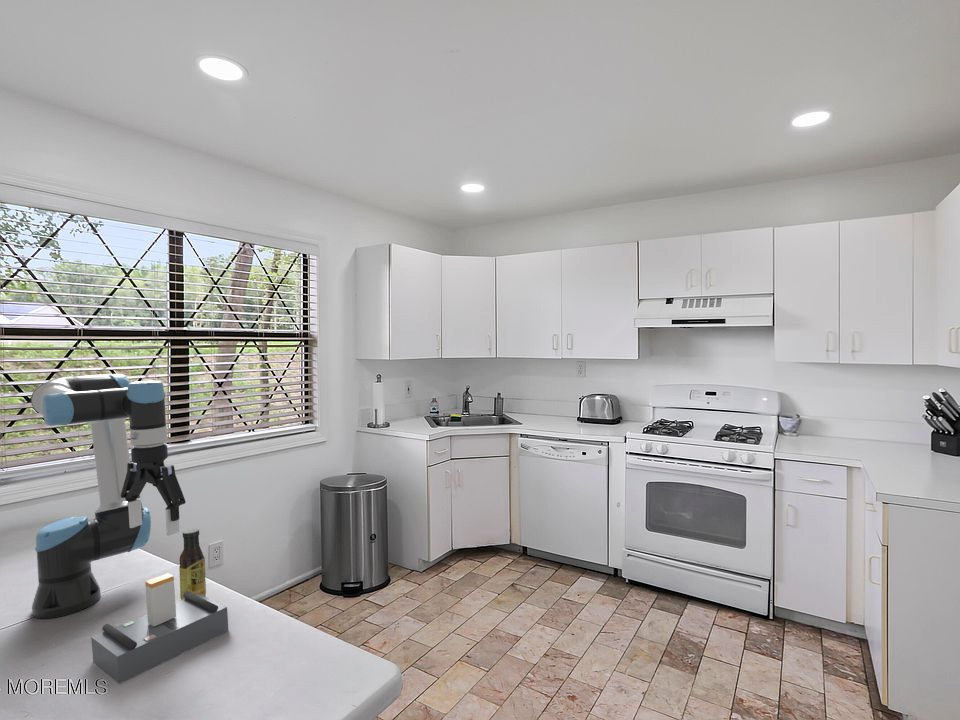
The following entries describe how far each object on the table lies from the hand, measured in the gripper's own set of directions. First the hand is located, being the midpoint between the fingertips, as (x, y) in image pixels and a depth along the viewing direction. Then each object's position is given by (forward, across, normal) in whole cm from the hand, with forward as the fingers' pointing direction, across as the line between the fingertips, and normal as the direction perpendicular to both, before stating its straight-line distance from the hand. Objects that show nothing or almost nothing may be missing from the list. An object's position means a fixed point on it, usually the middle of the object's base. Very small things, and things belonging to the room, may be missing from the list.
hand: (154, 529), depth 130 cm
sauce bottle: (+27, -6, +14) cm, 31 cm away
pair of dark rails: (+20, +6, -4) cm, 21 cm away
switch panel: (+26, +7, -4) cm, 27 cm away
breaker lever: (+20, +6, -4) cm, 21 cm away
